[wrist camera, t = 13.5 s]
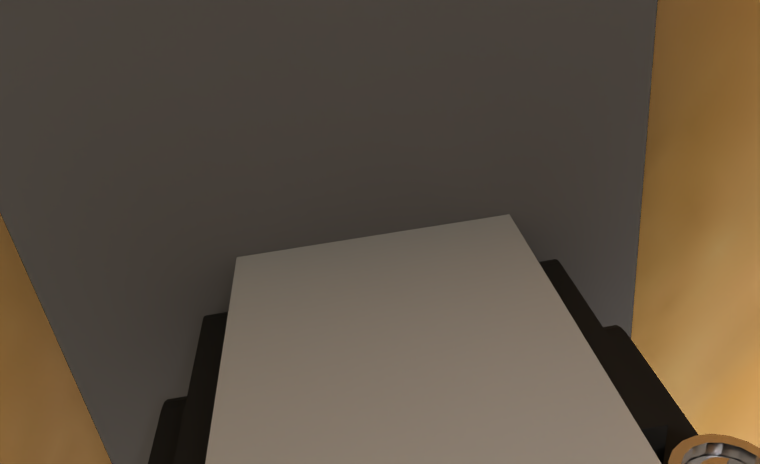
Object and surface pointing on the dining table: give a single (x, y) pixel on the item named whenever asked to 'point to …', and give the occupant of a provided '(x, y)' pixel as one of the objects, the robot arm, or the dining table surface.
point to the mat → (300, 155)
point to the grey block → (412, 358)
